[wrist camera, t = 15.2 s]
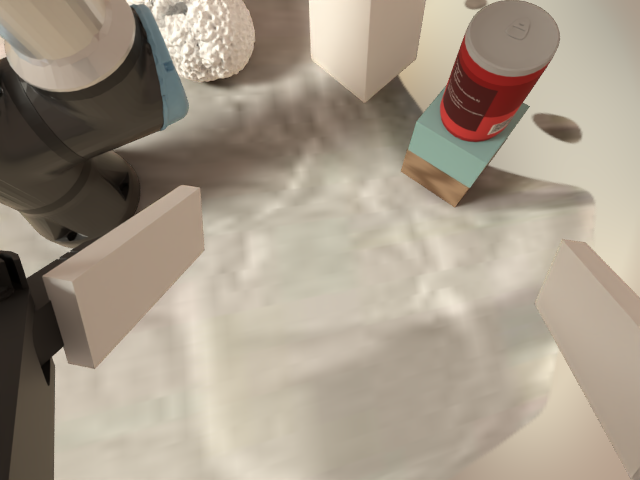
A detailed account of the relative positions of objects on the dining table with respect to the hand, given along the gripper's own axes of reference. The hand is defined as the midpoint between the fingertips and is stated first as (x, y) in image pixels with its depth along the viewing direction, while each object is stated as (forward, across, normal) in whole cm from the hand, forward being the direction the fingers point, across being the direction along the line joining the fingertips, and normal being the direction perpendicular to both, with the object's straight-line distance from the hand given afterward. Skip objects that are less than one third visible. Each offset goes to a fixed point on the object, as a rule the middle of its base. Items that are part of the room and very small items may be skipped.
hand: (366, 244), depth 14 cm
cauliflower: (+54, -29, +4) cm, 62 cm away
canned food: (+34, +10, 0) cm, 36 cm away
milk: (+55, -4, +4) cm, 55 cm away
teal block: (+38, +10, -4) cm, 40 cm away
